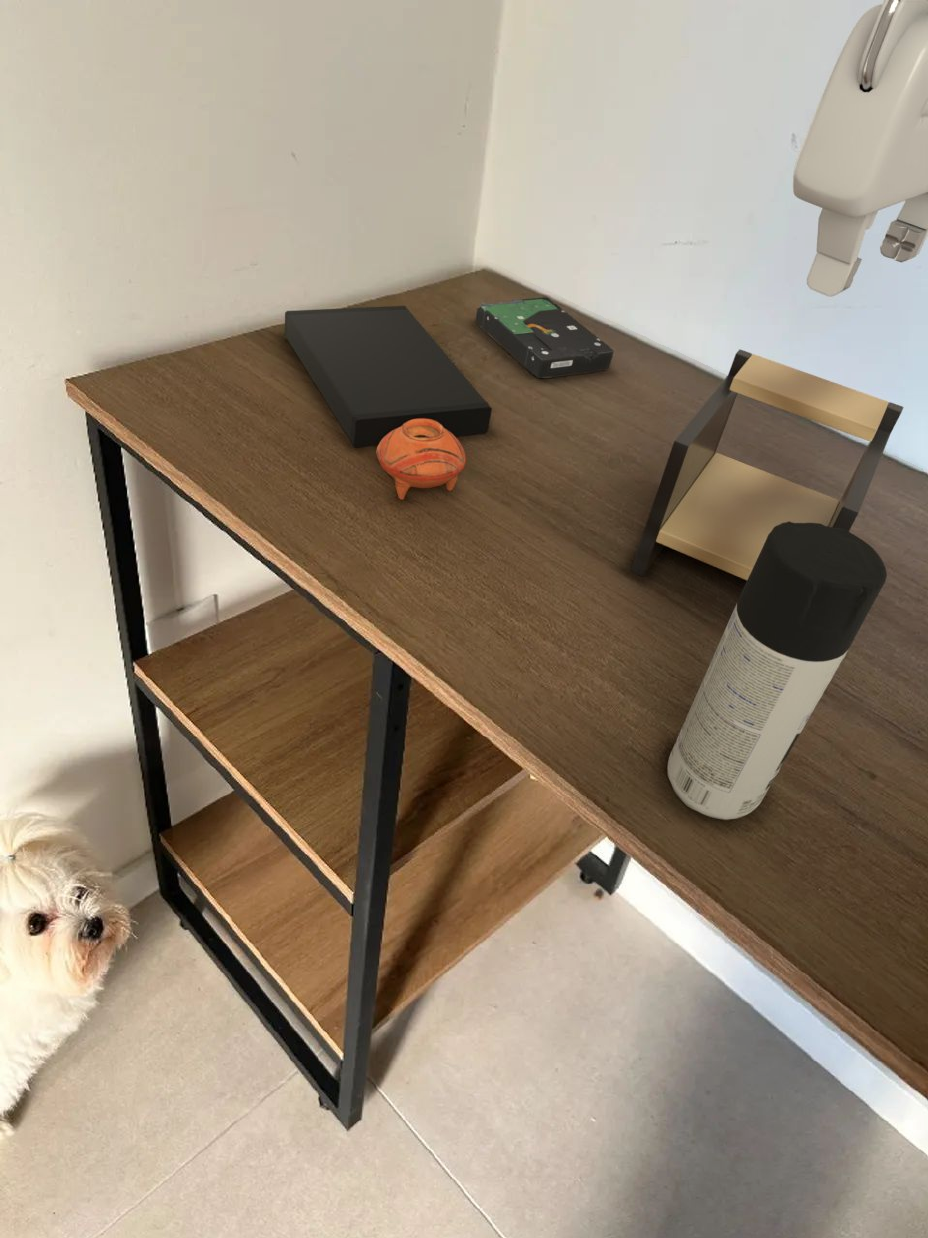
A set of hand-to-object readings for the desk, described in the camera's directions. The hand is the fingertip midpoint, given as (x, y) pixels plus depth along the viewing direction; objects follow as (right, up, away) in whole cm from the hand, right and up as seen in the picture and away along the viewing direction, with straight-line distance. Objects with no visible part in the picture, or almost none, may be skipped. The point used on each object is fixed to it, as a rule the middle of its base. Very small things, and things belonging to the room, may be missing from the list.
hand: (862, 272), depth 50 cm
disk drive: (-12, +14, +61) cm, 64 cm away
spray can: (-5, -30, +13) cm, 33 cm away
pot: (-26, -7, +35) cm, 44 cm away
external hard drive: (-30, +6, +49) cm, 58 cm away
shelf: (+3, -13, +34) cm, 36 cm away
